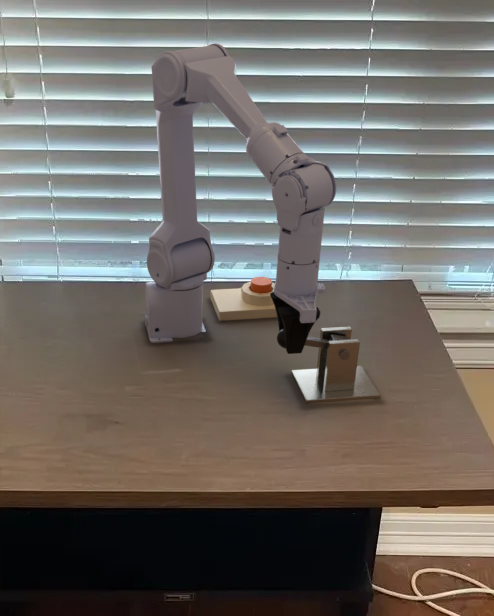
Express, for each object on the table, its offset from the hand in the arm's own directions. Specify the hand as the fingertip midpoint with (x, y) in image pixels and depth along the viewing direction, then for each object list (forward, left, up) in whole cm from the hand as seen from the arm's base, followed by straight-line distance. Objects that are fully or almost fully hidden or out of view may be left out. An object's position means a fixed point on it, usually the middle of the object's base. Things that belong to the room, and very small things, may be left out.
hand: (291, 346), depth 132 cm
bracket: (+7, 0, -7) cm, 10 cm away
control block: (0, +29, -7) cm, 30 cm away
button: (+2, +29, -4) cm, 29 cm away
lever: (+3, 0, -1) cm, 3 cm away
